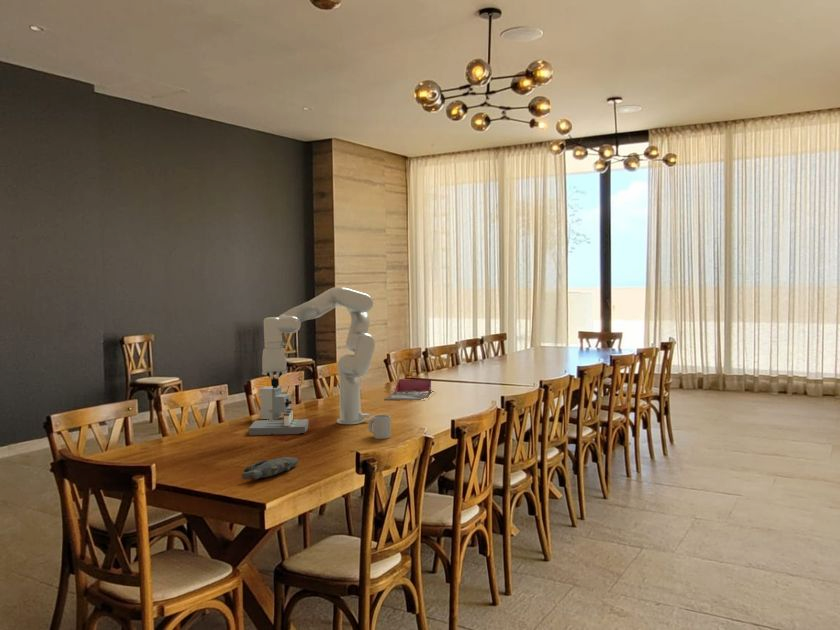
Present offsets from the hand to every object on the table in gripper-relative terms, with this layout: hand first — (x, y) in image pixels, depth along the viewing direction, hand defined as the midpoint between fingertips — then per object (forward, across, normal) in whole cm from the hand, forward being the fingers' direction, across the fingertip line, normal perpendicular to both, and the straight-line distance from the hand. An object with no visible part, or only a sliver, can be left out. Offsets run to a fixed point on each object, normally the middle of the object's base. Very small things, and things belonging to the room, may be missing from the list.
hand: (275, 387), depth 304 cm
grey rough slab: (+20, -5, +65) cm, 68 cm away
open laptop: (+23, -64, -92) cm, 114 cm away
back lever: (+17, -4, -12) cm, 21 cm away
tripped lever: (+17, -4, 0) cm, 17 cm away
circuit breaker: (+20, +5, -34) cm, 40 cm away
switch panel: (+20, 0, -6) cm, 21 cm away
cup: (+21, -44, +13) cm, 51 cm away
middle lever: (+17, -4, -6) cm, 18 cm away
